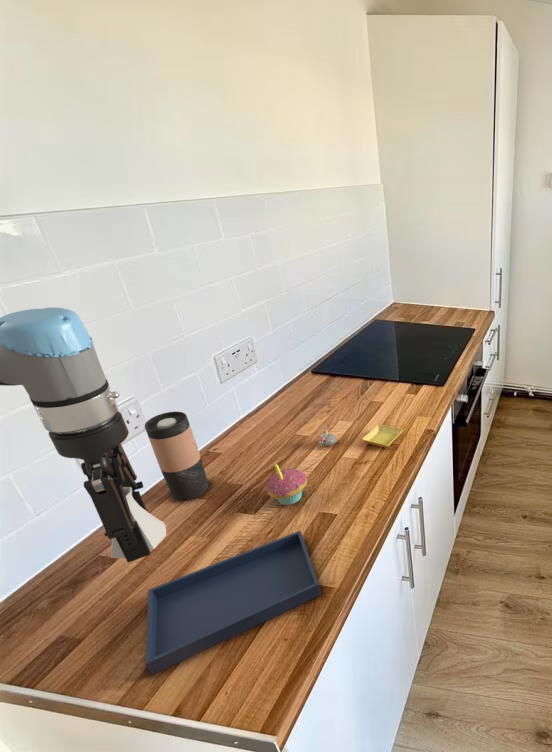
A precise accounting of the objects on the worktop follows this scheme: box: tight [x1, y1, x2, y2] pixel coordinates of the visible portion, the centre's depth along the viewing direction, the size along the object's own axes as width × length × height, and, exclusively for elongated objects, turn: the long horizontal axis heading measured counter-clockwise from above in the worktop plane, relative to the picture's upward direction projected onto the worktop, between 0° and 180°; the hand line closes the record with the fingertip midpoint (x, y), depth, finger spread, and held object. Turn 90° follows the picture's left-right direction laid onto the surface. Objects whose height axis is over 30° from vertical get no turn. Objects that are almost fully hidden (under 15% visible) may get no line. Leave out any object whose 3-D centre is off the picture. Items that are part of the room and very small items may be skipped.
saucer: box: [361, 423, 404, 449], centre depth 125 cm, size 9×9×2 cm
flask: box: [110, 487, 167, 559], centre depth 67 cm, size 7×7×10 cm
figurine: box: [318, 424, 338, 448], centre depth 121 cm, size 5×4×6 cm
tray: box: [145, 530, 322, 676], centre depth 79 cm, size 25×15×3 cm, turn 125°
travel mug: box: [144, 411, 209, 502], centre depth 99 cm, size 8×8×20 cm
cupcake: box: [265, 462, 308, 506], centre depth 100 cm, size 9×8×12 cm
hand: (140, 540), depth 69 cm, fingers closed on flask, 7 cm apart
